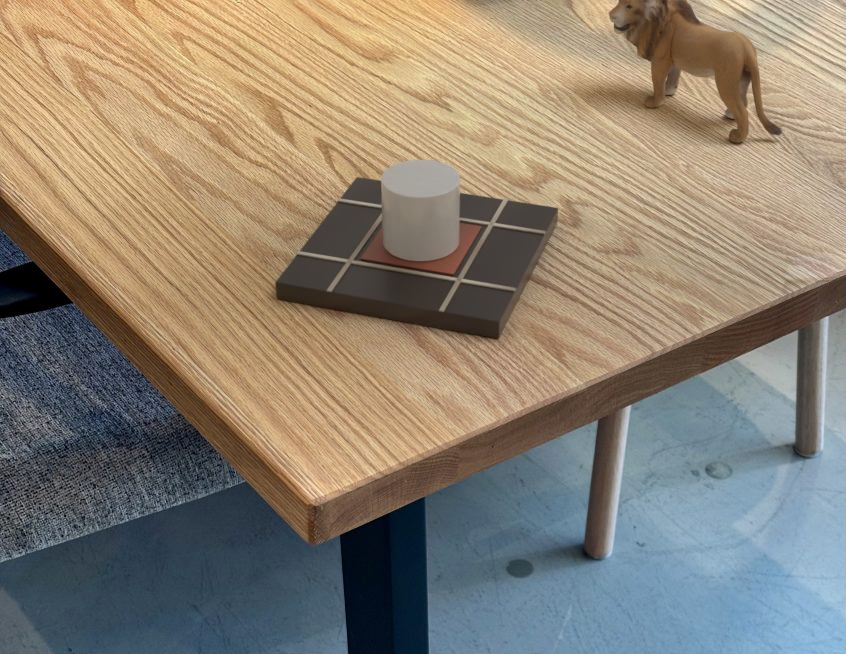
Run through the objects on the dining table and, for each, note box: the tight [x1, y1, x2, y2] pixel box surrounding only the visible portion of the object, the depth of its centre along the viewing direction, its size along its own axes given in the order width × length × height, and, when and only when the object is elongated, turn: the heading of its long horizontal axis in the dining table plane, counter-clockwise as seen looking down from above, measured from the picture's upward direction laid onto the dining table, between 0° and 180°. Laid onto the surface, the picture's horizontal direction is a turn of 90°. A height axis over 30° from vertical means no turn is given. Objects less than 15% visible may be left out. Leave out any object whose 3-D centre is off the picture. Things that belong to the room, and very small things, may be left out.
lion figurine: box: [608, 0, 783, 143], centre depth 96 cm, size 15×5×9 cm, turn 50°
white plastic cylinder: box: [380, 159, 461, 262], centre depth 81 cm, size 5×5×4 cm
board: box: [274, 176, 559, 339], centre depth 83 cm, size 14×14×1 cm
